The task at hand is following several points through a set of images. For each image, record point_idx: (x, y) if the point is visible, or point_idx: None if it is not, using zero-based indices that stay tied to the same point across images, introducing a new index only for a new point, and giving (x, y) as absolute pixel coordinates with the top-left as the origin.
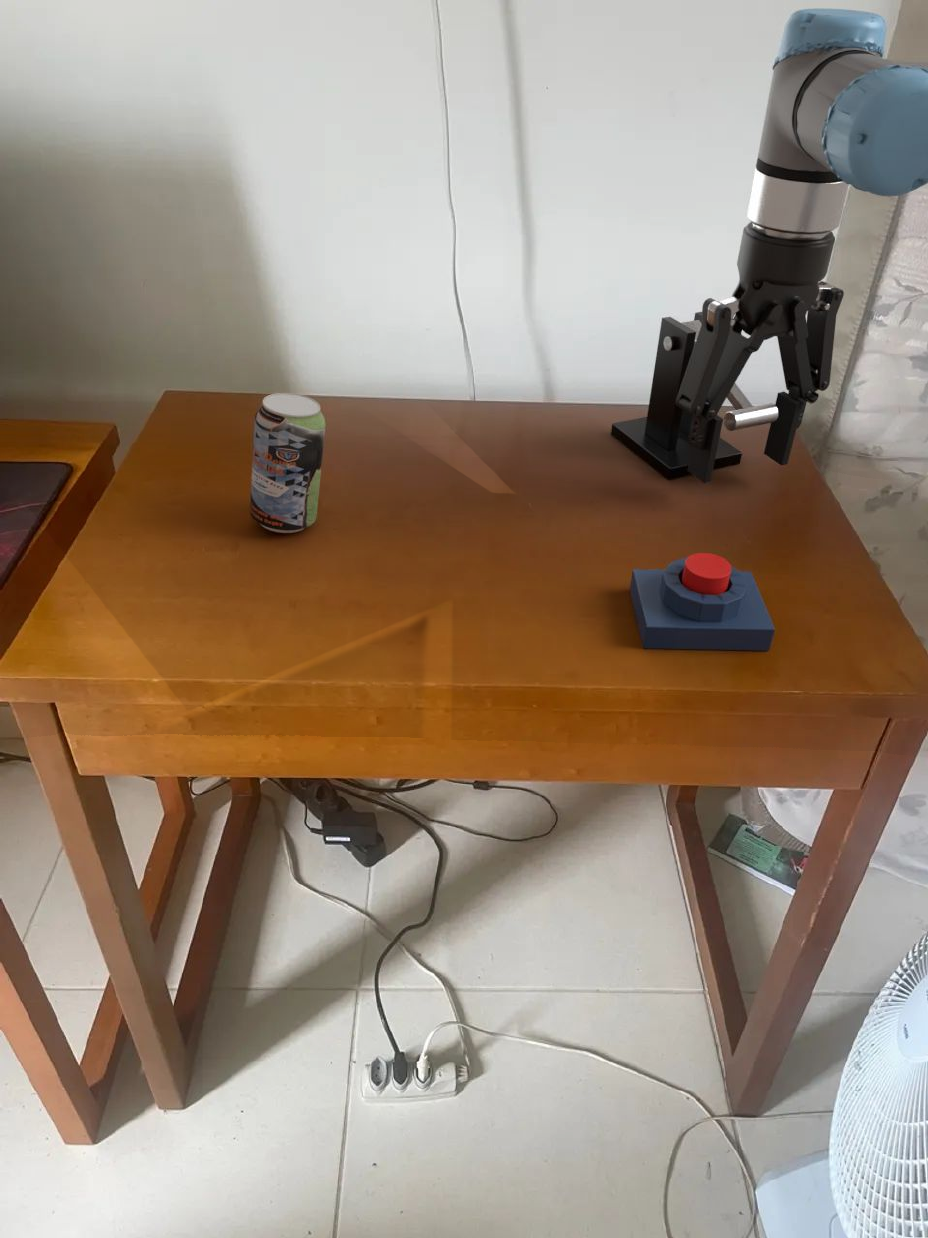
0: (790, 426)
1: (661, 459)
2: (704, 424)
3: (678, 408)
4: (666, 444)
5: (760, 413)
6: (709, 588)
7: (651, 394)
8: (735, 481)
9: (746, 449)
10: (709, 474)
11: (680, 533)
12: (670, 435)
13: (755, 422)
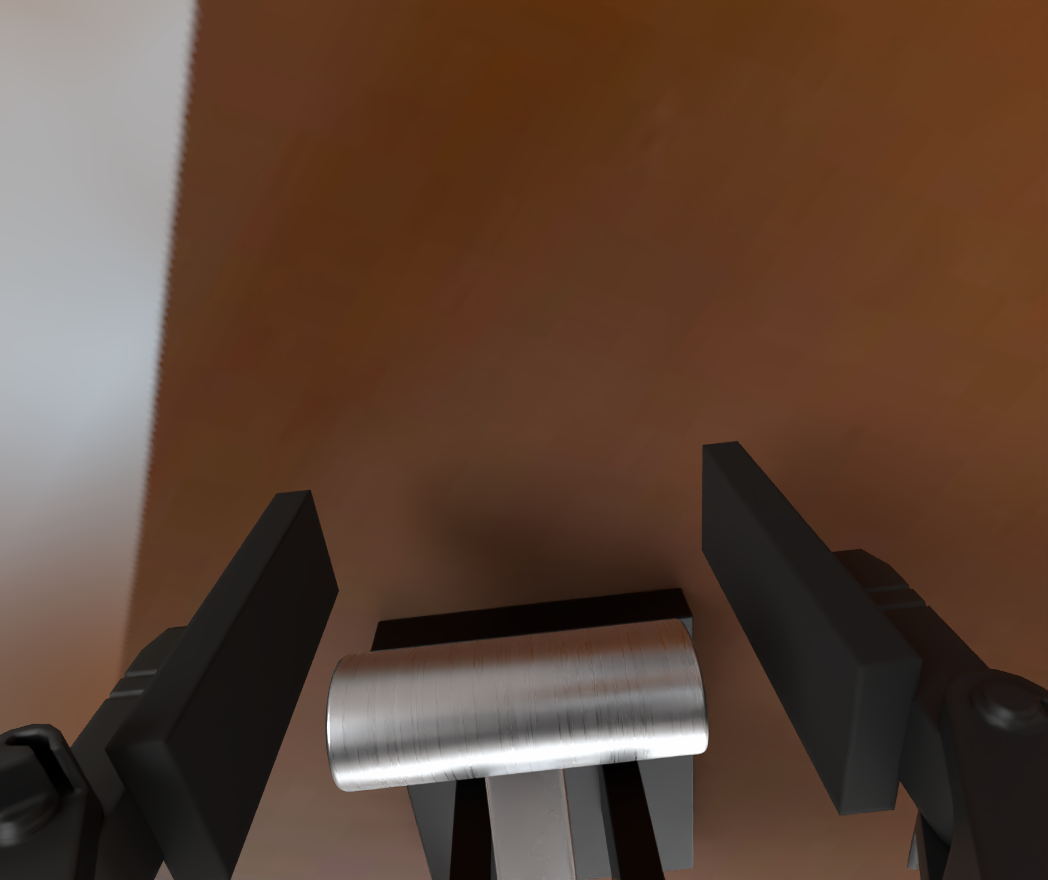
0: (239, 619)
1: None
2: (946, 658)
3: (646, 875)
4: None
5: (483, 700)
6: None
7: None
8: (455, 528)
9: (306, 690)
10: (731, 459)
11: (878, 258)
12: (637, 763)
13: (522, 645)
